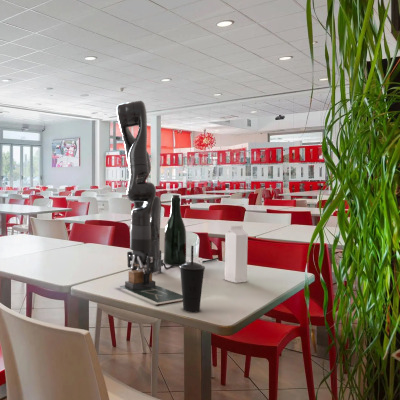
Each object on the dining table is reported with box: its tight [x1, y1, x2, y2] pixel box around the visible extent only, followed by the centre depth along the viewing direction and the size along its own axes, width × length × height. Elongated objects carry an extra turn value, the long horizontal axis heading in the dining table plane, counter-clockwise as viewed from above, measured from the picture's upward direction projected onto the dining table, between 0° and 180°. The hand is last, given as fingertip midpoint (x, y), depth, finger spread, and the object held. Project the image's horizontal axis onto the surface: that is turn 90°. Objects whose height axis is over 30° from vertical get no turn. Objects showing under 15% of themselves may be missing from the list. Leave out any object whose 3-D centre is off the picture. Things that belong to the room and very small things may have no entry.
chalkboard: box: [118, 284, 183, 307], centre depth 148 cm, size 14×24×1 cm, turn 27°
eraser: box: [124, 269, 156, 290], centre depth 154 cm, size 10×5×6 cm, turn 117°
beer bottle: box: [163, 194, 187, 266], centre depth 201 cm, size 10×10×33 cm
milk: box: [224, 225, 249, 284], centre depth 167 cm, size 6×6×22 cm
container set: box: [188, 256, 203, 266], centre depth 179 cm, size 20×5×6 cm, turn 155°
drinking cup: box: [178, 245, 206, 313], centre depth 129 cm, size 8×8×20 cm
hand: (140, 282), depth 154 cm, fingers open, 6 cm apart
